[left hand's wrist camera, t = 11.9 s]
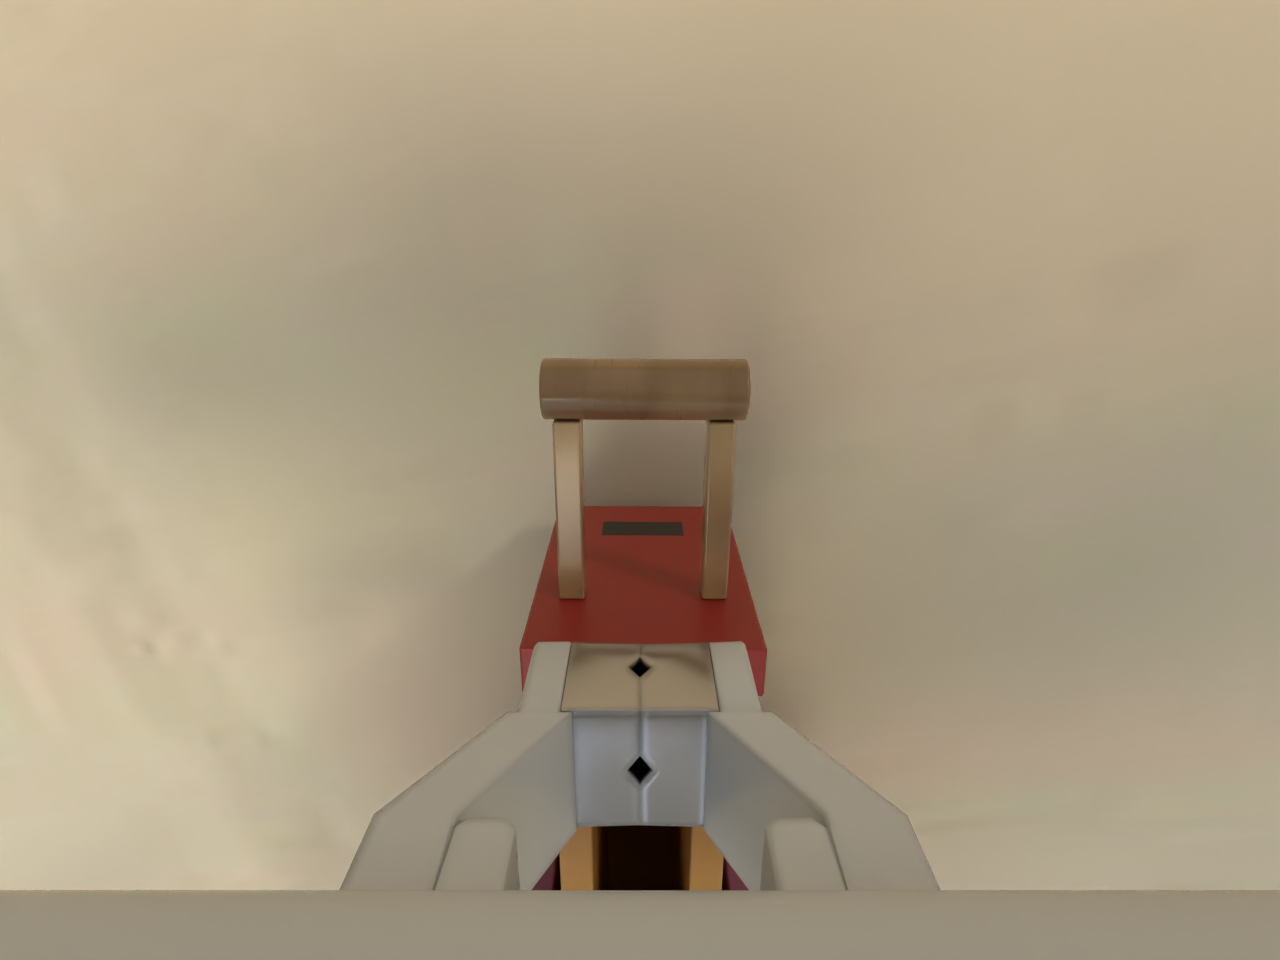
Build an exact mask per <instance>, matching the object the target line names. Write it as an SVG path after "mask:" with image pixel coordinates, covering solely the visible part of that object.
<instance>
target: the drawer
mask: <svg viewBox="0 0 1280 960" xmlns="http://www.w3.org/2000/svg"><path fill="white" fill-rule="evenodd" d="M539 397H540V408H541V413H542V416H543V418H544V419H554V421H553V424H552V426H553V452H554V478H555V503H556V521H555V525H554V528H553V532H552V536H551V539H550V543H549V546H548V550H547V553H546V557H545V560H544V564H543V567H542V571H541V575H540V578H539V582H538V585H537V589H536V592H535V596H534V599H533V603H532V606H531V610H530V613H529V617H528V621H527V624H526V628H525V631H524V635H523V638H522V642H521V645H520V663H521V679H522V692H523V689H524V685H525V681H526V677H527V673H528V669H529V665H530V661H531V657H532V653H533V649H534V646H535V645H536V644H537V643H538V642H571V643H573V642H603V643H640V644H677V643H708V642H733V641H742V642H743V643H744V644H745V646H746V650H747V654H748V658H749V662H750V666H751V670H752V674H753V678H754V681H755V685H756V689H757V693H758V696H763V693H764V682H765V670H766V657H767V648H766V644H765V641H764V638H763V634H762V631H761V627H760V624H759V621H758V617H757V614H756V610H755V607H754V603H753V600H752V597H751V593H750V590H749V586H748V583H747V580H746V576H745V573H744V569H743V566H742V562H741V559H740V556H739V552H738V549H737V545H736V542H735V539H734V535H733V532H732V528H731V515H732V496H733V478H734V459H735V441H736V423H735V421H734V420H745V419H746V417H747V415H748V411H749V404H750V369H749V365H748V362H747V360H745V359H574V358H545V359H543V360H542V363H541V367H540V376H539ZM583 420H706V438H705V464H704V490H703V507H614V506H585V504H584V461H583ZM559 855H560V877H561V890H722V876H723V859H724V856H723V855H722V854H721V852H720V851H719V850H718V848H717V847H716V846H715V844H714V843H713V842H712V840H711V839H710V838H709V836H708V835H707V834H706V832H705V831H704V827H687V826H652V825H626V826H592V827H576V832H575V833H574V834H573V836H572V837H571V838H570V840H569V841H568V842H567V844H566V845H565V846H564V848H563V849H562V850H561V852H560V853H559Z"/></svg>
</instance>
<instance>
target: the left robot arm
mask: <svg viewBox="0 0 1280 960" xmlns="http://www.w3.org/2000/svg"><path fill="white" fill-rule="evenodd" d="M626 825H652V826H687V827H704V831H705V832H706V834H707V835H708V836H709V838H710V839H711V840H712V842H713V843H714V844H715V846H716V847H717V848H718V850H719V851H720V852H721V854H722V855H723V856H724V858H725V859H726V860H727V862H728V863H729V864H730V866H731V867H732V868H733V870H734V871H735V872H736V874H737V875H738V876H739V878H740V879H741V880H742V882H743V883H744V884H745V886H746V887H747V888H748V890H532V889H533V887H534V886H535V885H536V883H537V882H538V881H539V879H540V878H541V877H542V875H543V874H544V873H545V871H546V870H547V869H548V868H549V866H550V865H551V864H552V862H553V861H554V860H555V858H556V857H557V856H558V854H559V853H560V852H561V850H562V849H563V848H564V846H565V845H566V844H567V842H568V841H569V840H570V838H571V837H572V836H573V834H574V833H575V832H576V827H592V826H626ZM0 960H1280V890H940V888H939V886H938V883H937V881H936V879H935V877H934V875H933V872H932V870H931V868H930V866H929V863H928V861H927V859H926V857H925V854H924V852H923V850H922V848H921V845H920V843H919V841H918V839H917V836H916V834H915V832H914V830H913V828H912V825H911V823H910V821H909V819H908V816H907V815H906V814H904V813H903V812H902V811H900V810H899V809H898V808H897V807H895V806H894V805H893V804H891V803H890V802H889V801H887V800H886V799H885V798H884V797H882V796H881V795H880V794H878V793H877V792H876V791H874V790H873V789H872V788H871V787H869V786H868V785H867V784H865V783H864V782H863V781H861V780H860V779H859V778H858V777H856V776H855V775H854V774H852V773H851V772H850V771H848V770H847V769H846V768H845V767H843V766H842V765H841V764H839V763H838V762H837V761H835V760H834V759H833V758H832V757H830V756H829V755H828V754H826V753H825V752H824V751H822V750H821V749H820V748H819V747H817V746H816V745H815V744H813V743H812V742H811V741H809V740H808V739H807V738H805V737H804V736H803V735H802V734H800V733H799V732H798V731H796V730H795V729H794V728H792V727H791V726H790V725H789V724H787V723H786V722H785V721H783V720H782V719H781V718H779V717H778V716H777V715H776V714H774V713H773V712H762V709H761V705H760V701H759V697H758V693H757V689H756V685H755V681H754V678H753V674H752V670H751V666H750V662H749V658H748V654H747V650H746V646H745V644H744V643H743V642H742V641H733V642H708V643H677V644H640V643H603V642H573V643H571V642H538V643H537V644H536V645H535V646H534V649H533V653H532V657H531V661H530V665H529V669H528V673H527V677H526V681H525V685H524V689H523V693H522V697H521V701H520V705H519V709H518V712H507V713H506V714H504V715H503V716H502V717H501V718H499V719H498V720H497V721H495V722H494V723H493V724H491V725H490V726H489V727H487V728H486V729H485V730H484V731H482V732H481V733H480V734H478V735H477V736H476V737H474V738H473V739H472V740H470V741H469V742H468V743H467V744H465V745H464V746H463V747H461V748H460V749H459V750H457V751H456V752H455V753H454V754H452V755H451V756H450V757H448V758H447V759H446V760H444V761H443V762H442V763H440V764H439V765H438V766H437V767H435V768H434V769H433V770H431V771H430V772H429V773H427V774H426V775H425V776H423V777H422V778H421V779H420V780H418V781H417V782H416V783H414V784H413V785H412V786H410V787H409V788H408V789H406V790H405V791H404V792H403V793H401V794H400V795H399V796H397V797H396V798H395V799H393V800H392V801H391V802H389V803H388V804H387V805H386V806H384V807H383V808H382V809H380V810H379V811H378V812H376V813H375V814H374V815H373V817H372V819H371V822H370V824H369V826H368V828H367V831H366V833H365V835H364V837H363V839H362V842H361V844H360V846H359V848H358V850H357V853H356V855H355V857H354V859H353V861H352V864H351V866H350V868H349V870H348V872H347V875H346V877H345V879H344V881H343V883H342V886H341V888H340V890H0Z"/></svg>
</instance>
